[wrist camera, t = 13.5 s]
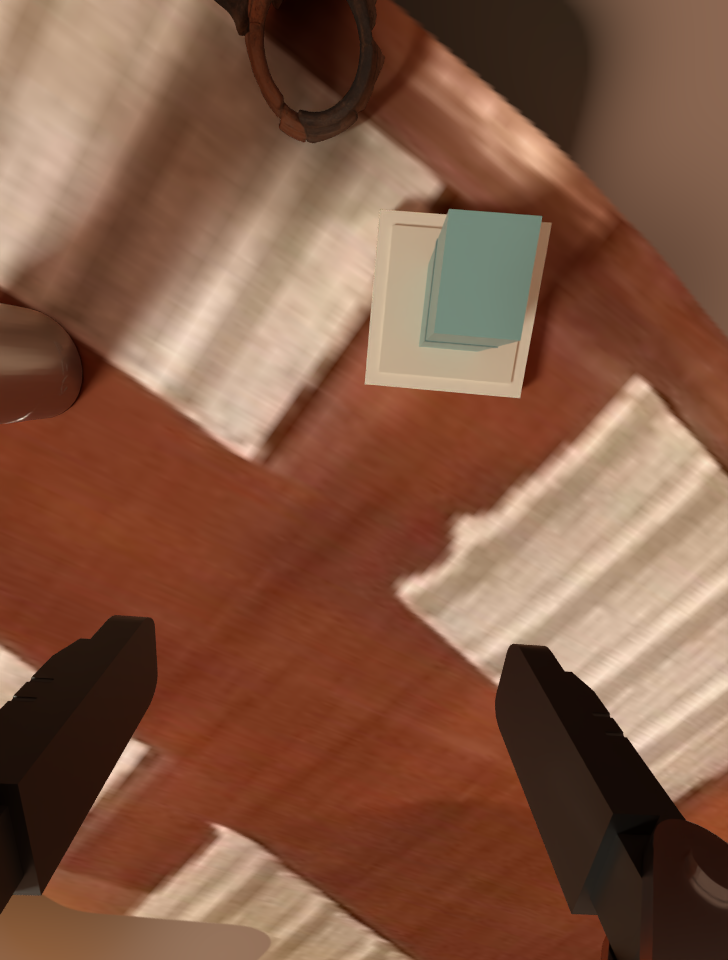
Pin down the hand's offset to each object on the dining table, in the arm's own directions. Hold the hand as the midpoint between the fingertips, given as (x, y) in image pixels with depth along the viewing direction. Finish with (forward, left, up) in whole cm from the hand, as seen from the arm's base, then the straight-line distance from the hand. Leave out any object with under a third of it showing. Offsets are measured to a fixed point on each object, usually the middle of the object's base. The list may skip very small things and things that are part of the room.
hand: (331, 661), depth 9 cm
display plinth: (+5, +12, -27) cm, 30 cm away
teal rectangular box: (+5, +12, -24) cm, 27 cm away
